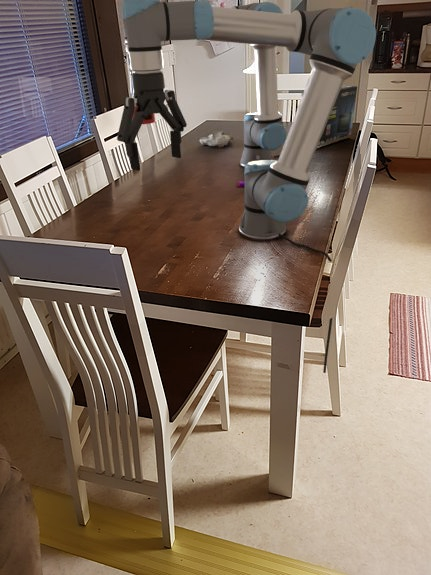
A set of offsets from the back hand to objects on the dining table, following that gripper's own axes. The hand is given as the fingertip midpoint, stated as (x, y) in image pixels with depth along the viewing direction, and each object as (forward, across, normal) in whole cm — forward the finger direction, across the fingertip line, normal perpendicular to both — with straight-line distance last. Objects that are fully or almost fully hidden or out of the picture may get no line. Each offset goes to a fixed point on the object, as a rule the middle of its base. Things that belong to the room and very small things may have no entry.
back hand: (143, 117), depth 178 cm
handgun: (+28, +29, +32) cm, 51 cm away
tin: (+2, 0, 0) cm, 2 cm away
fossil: (+28, -47, +58) cm, 79 cm away
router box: (+28, -13, +106) cm, 110 cm away
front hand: (-2, +68, -23) cm, 71 cm away
